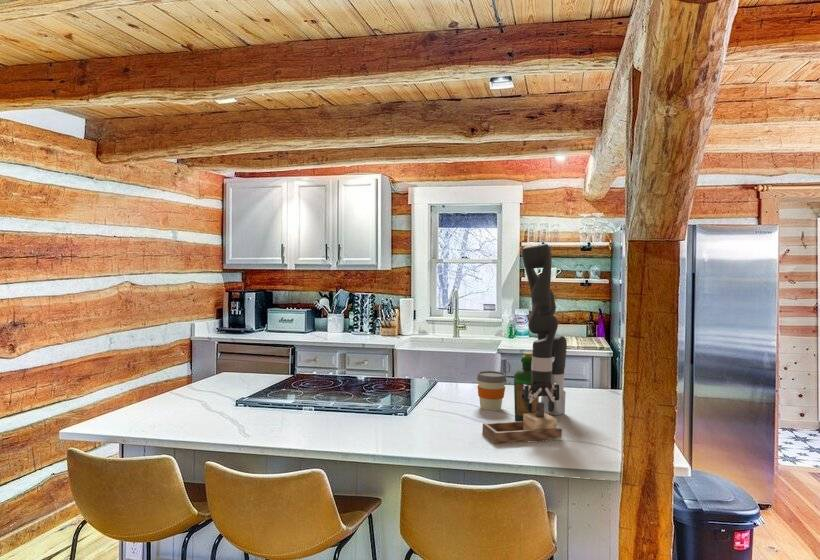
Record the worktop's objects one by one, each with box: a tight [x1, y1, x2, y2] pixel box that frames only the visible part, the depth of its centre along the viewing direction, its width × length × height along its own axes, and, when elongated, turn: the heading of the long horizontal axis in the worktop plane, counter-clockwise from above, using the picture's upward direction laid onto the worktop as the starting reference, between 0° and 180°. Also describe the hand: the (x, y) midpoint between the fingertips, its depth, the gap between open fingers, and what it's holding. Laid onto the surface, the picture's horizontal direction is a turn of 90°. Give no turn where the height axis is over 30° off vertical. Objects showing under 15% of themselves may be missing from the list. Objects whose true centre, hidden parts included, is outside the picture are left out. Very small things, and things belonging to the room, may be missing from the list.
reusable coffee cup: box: [476, 370, 507, 412], centre depth 260 cm, size 13×13×15 cm
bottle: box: [513, 351, 540, 422], centre depth 238 cm, size 11×11×28 cm
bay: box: [482, 420, 563, 445], centre depth 220 cm, size 26×12×4 cm, turn 105°
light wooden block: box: [523, 401, 558, 430], centre depth 221 cm, size 9×9×11 cm
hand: (540, 412), depth 221 cm, fingers open, 8 cm apart
